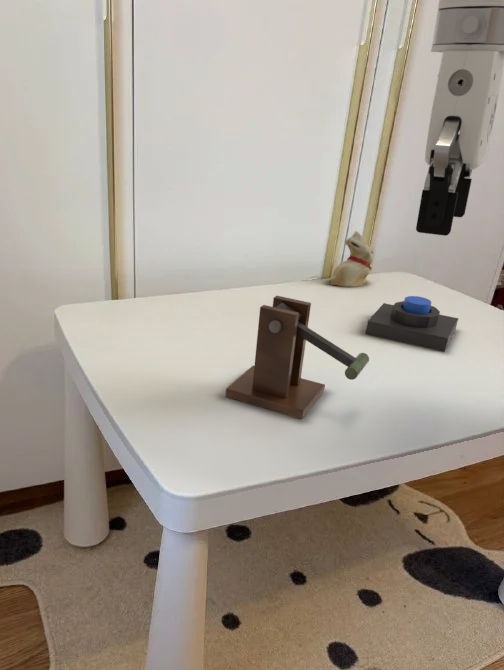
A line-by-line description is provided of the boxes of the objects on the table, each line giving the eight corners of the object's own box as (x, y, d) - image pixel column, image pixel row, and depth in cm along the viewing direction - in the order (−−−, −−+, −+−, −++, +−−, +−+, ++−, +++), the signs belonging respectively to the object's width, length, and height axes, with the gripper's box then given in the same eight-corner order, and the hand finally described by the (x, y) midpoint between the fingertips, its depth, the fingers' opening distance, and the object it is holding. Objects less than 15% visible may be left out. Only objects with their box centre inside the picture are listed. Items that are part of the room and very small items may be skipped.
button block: (455, 331, 102) (461, 307, 100) (444, 351, 94) (450, 326, 92) (381, 315, 106) (385, 292, 104) (365, 334, 98) (369, 309, 97)
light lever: (363, 369, 75) (373, 353, 73) (351, 385, 71) (361, 369, 69) (278, 315, 77) (286, 298, 76) (261, 327, 73) (270, 310, 72)
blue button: (431, 309, 99) (433, 299, 98) (426, 317, 96) (428, 306, 95) (405, 304, 101) (407, 294, 100) (399, 311, 98) (402, 301, 97)
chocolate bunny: (371, 289, 119) (381, 235, 114) (329, 285, 119) (337, 232, 115) (368, 280, 124) (377, 228, 119) (327, 277, 124) (335, 225, 119)
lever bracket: (324, 392, 80) (338, 304, 74) (301, 419, 74) (315, 324, 68) (252, 373, 84) (260, 287, 78) (225, 396, 78) (232, 305, 72)
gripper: (513, 29, 49) (467, 246, 57) (527, 38, 63) (488, 213, 71) (415, 29, 53) (385, 236, 61) (449, 38, 66) (420, 206, 74)
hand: (441, 223), depth 66 cm, fingers open, 9 cm apart
